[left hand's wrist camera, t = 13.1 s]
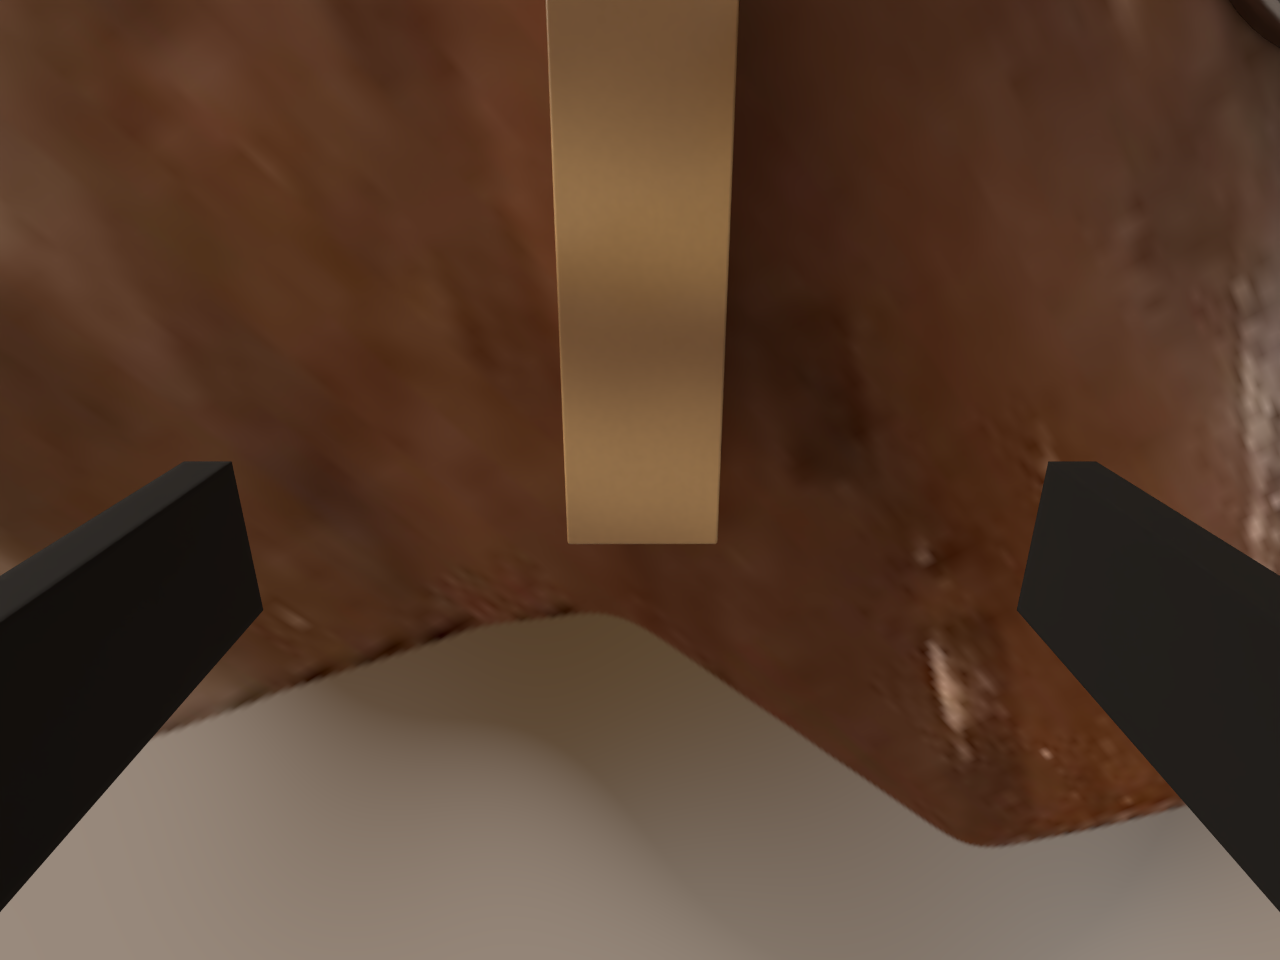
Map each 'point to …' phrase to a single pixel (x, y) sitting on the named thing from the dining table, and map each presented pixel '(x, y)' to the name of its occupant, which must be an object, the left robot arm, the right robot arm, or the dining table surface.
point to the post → (642, 260)
